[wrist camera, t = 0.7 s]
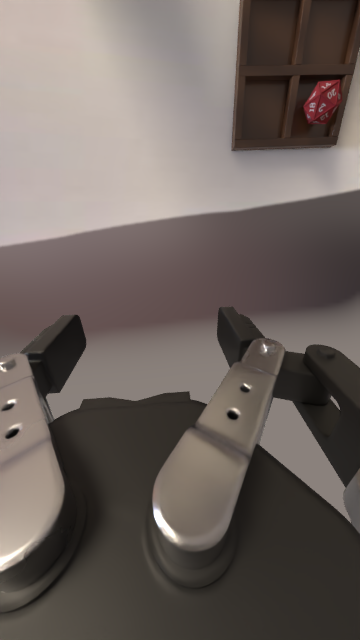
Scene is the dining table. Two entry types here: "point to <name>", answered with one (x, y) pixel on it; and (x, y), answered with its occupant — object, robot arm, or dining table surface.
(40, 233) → the dining table surface
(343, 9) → the holder
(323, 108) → the dice
